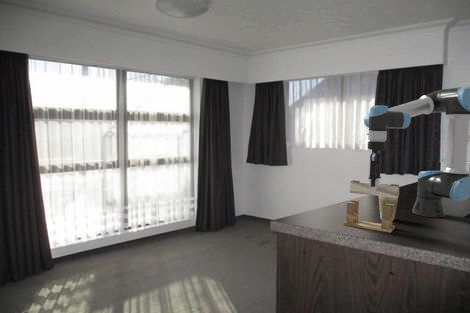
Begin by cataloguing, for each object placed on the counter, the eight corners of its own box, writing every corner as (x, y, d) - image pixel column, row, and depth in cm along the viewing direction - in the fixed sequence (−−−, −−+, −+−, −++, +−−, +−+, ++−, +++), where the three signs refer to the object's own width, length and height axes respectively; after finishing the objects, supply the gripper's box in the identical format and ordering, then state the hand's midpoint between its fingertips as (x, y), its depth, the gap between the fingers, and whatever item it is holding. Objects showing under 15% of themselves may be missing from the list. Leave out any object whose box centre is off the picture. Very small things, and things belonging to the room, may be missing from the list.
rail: (352, 191, 170) (352, 180, 169) (398, 197, 159) (399, 184, 159) (349, 192, 166) (350, 180, 166) (397, 198, 156) (398, 185, 155)
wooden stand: (349, 221, 173) (350, 199, 172) (394, 228, 162) (395, 204, 162) (343, 225, 166) (344, 202, 165) (390, 232, 155) (392, 208, 154)
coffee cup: (389, 222, 173) (391, 190, 172) (372, 217, 181) (373, 187, 180) (402, 220, 178) (404, 189, 177) (384, 215, 186) (386, 186, 185)
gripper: (372, 140, 170) (369, 190, 172) (363, 140, 156) (360, 194, 157) (389, 141, 166) (386, 192, 168) (382, 141, 152) (379, 197, 153)
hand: (373, 193), depth 163 cm, fingers closed on rail, 4 cm apart
